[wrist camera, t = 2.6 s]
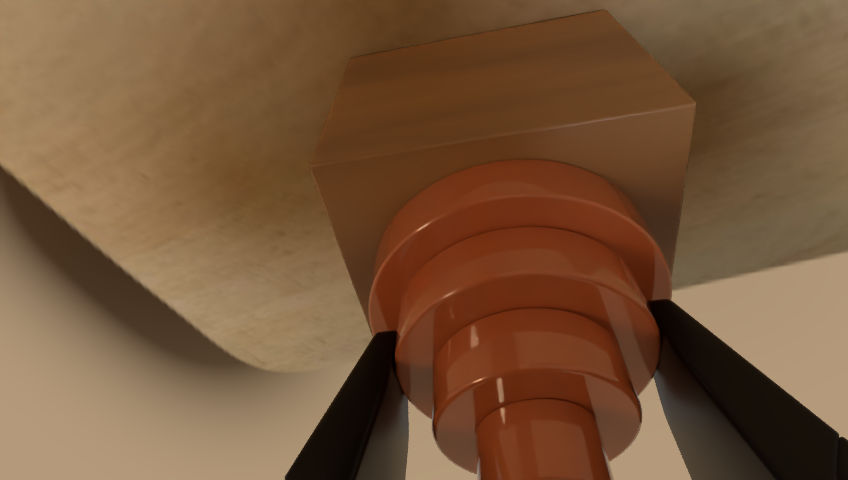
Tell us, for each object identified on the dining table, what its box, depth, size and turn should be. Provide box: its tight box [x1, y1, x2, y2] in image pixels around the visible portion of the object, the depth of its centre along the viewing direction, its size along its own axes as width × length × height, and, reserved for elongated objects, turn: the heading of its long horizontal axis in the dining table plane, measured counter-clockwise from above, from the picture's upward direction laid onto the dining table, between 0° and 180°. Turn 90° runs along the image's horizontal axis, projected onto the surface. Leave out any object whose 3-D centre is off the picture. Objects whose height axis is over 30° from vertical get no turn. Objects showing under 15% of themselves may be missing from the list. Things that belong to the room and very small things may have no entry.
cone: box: [368, 159, 672, 480], centre depth 9 cm, size 6×6×5 cm
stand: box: [309, 10, 696, 337], centre depth 14 cm, size 7×7×6 cm
